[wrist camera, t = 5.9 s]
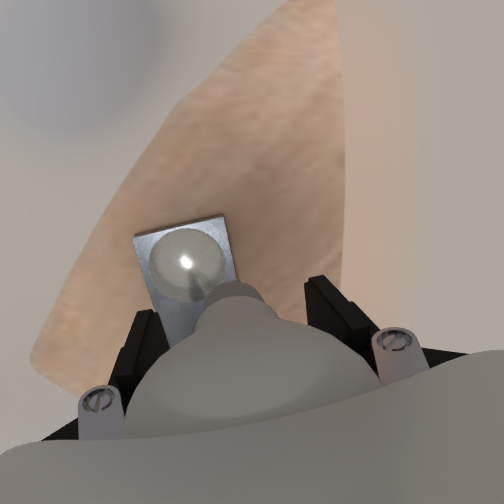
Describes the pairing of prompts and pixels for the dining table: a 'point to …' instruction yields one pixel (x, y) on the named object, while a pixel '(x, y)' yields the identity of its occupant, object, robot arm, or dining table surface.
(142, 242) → the metal press stand
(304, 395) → the lightbulb
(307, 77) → the dining table surface
